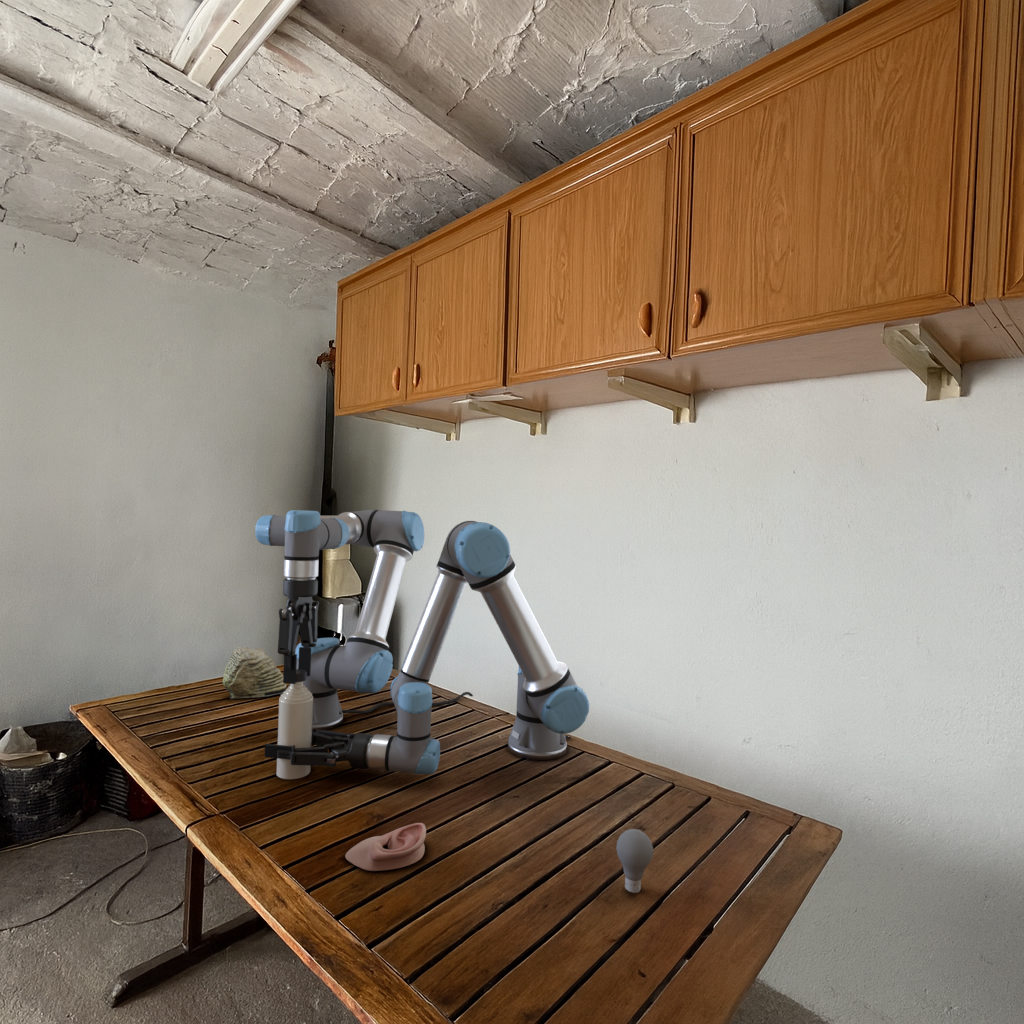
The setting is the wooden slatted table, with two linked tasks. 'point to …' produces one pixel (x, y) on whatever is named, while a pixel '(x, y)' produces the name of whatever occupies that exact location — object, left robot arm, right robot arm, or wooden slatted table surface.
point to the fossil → (252, 674)
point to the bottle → (294, 727)
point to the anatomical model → (390, 849)
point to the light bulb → (634, 857)
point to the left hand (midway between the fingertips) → (297, 679)
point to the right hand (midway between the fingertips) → (274, 743)
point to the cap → (301, 675)
